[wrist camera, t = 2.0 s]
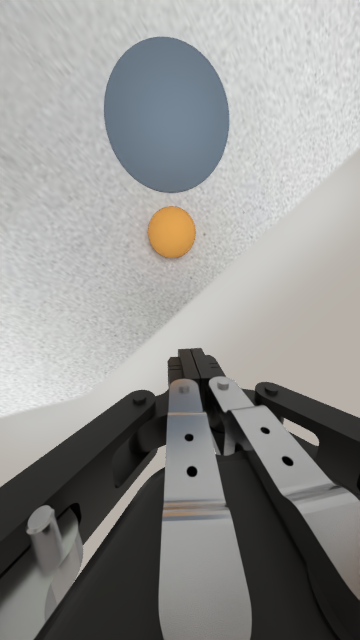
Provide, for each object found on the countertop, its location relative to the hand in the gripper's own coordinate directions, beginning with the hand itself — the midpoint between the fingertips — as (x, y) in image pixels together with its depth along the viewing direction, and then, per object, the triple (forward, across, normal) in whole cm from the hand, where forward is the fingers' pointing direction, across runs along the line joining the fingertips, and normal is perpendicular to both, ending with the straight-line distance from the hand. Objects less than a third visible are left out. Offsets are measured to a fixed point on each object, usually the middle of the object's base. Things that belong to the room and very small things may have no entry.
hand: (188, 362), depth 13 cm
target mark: (+16, 0, -22) cm, 27 cm away
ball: (+14, 0, -10) cm, 17 cm away
